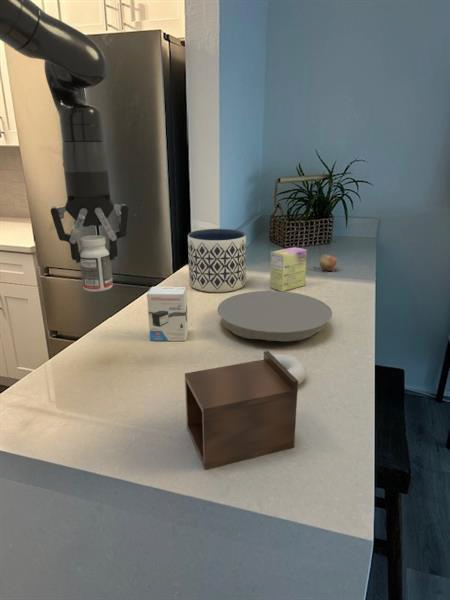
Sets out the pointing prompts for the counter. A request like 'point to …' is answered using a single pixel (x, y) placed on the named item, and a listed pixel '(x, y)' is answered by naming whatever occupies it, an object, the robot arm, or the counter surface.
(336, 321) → the counter surface
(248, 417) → the open wooden cube
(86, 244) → the pill bottle
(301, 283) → the box
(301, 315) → the flat disc
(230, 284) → the planter
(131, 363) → the counter surface
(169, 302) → the ink box
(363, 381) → the counter surface
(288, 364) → the donut
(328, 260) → the apple
